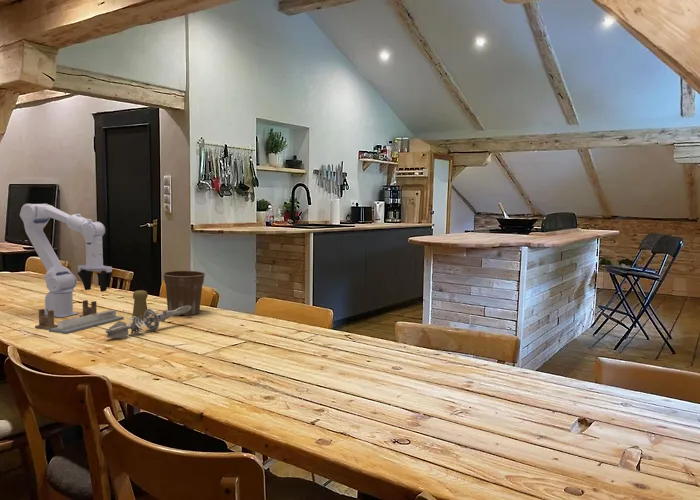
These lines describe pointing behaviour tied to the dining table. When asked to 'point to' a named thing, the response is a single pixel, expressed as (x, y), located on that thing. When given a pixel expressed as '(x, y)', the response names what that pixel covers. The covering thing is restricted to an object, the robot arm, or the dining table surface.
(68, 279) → the robot arm
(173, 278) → the plant pot
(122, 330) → the spaceship
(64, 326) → the steel rail
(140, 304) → the cork
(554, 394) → the dining table surface
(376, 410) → the dining table surface
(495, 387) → the dining table surface
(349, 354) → the dining table surface
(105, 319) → the long grey plate
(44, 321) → the cradle rack
